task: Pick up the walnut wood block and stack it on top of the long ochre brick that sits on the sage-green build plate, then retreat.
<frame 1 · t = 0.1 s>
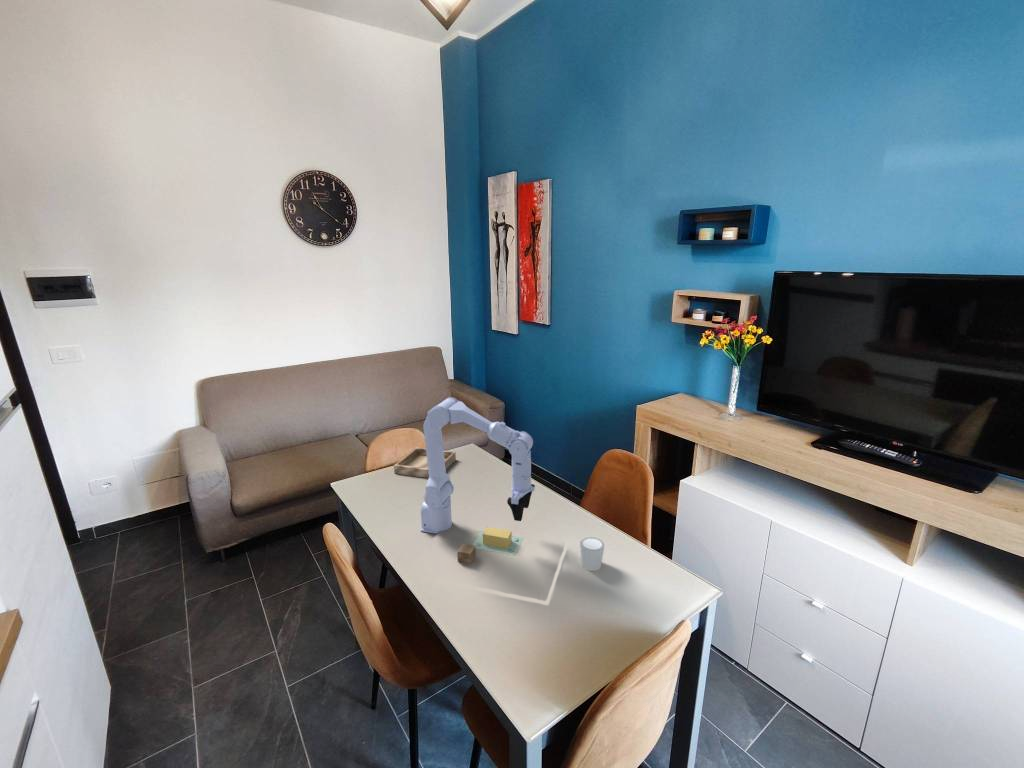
hand: (521, 513, 144), 10 cm above the table, fingers open, 7 cm apart
build plate: (497, 545, 146), on the table
walnut block: (467, 561, 138), on the table
ochre brick: (497, 542, 145), point 1 cm above the table, touching build plate
tan wooden shallow tray: (426, 466, 199), on the table
shot glass: (591, 565, 136), on the table
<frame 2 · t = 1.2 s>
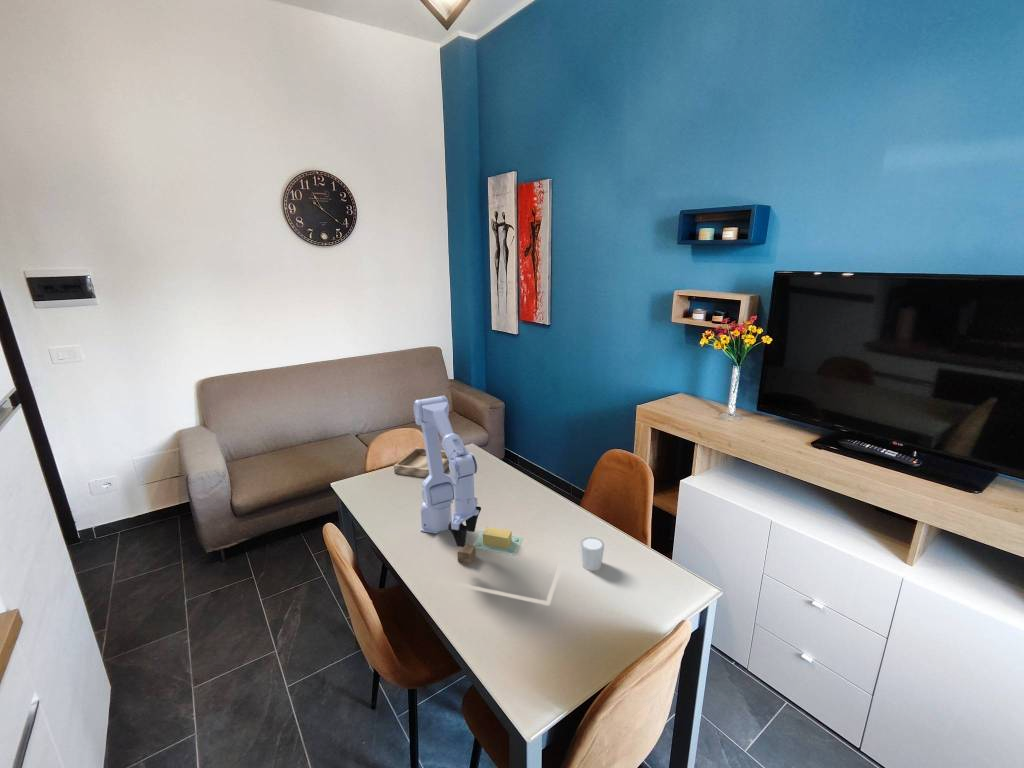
hand: (466, 538, 136), 8 cm above the table, fingers open, 7 cm apart
nothing on the table moved.
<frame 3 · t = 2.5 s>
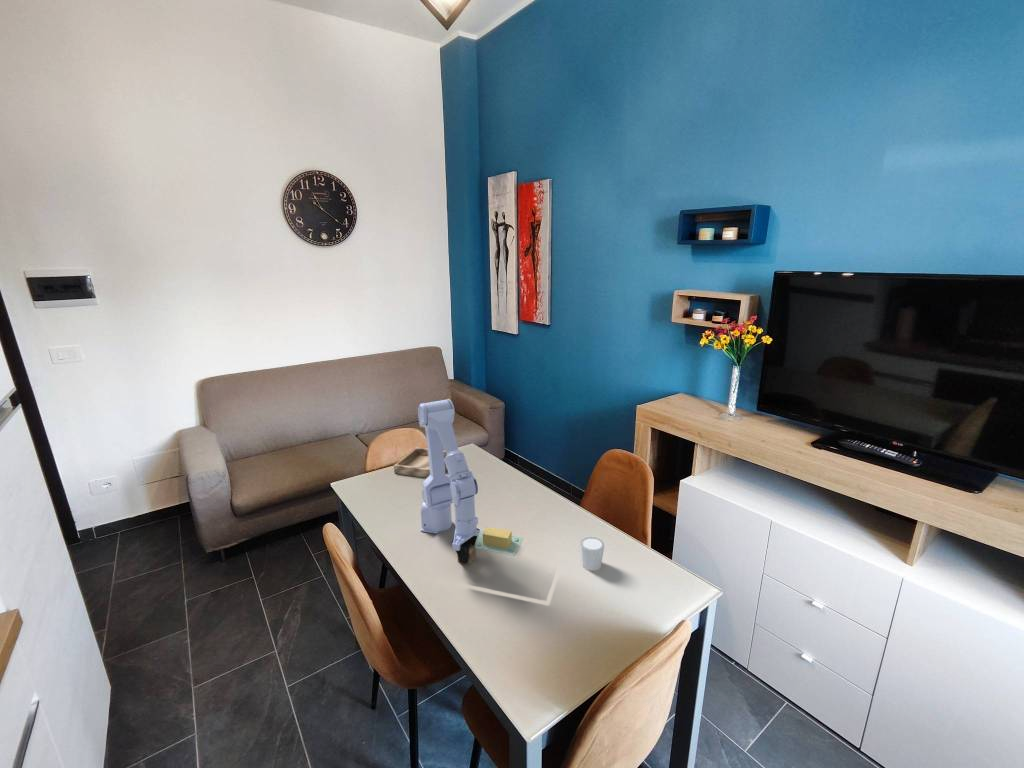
hand: (466, 557, 138), 1 cm above the table, fingers closed on walnut block, 4 cm apart
walnut block: (467, 561, 138), on the table, touching gripper
everything else where it was.
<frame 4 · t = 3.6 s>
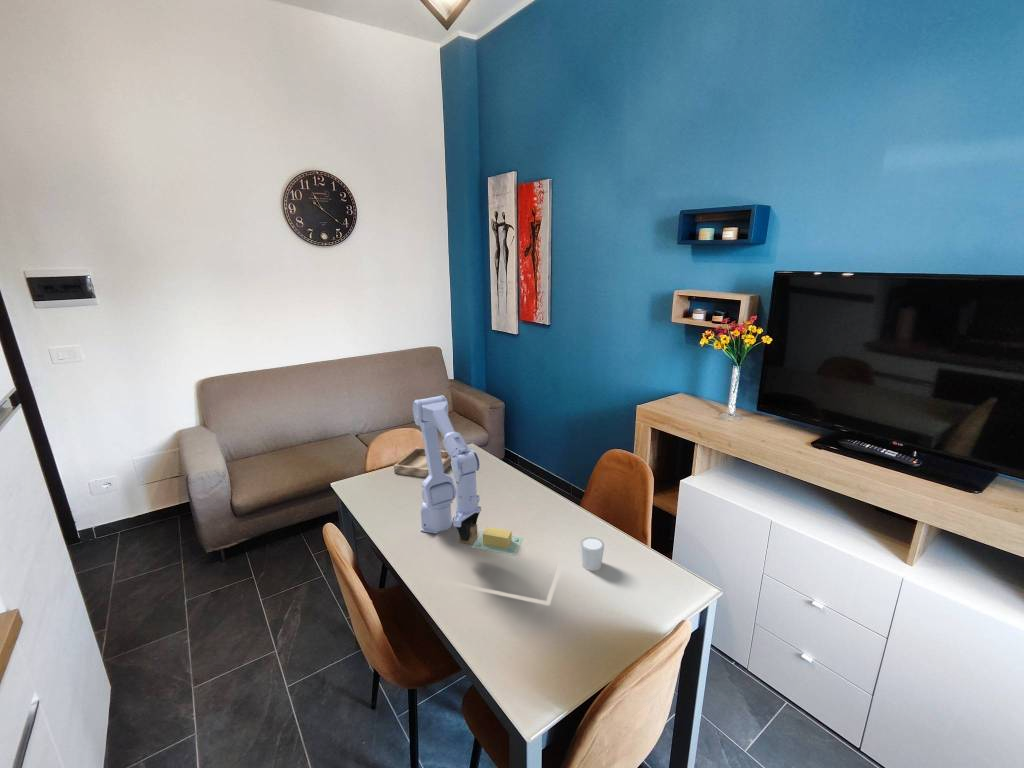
hand: (468, 535, 136), 8 cm above the table, fingers closed on walnut block, 4 cm apart
walnut block: (468, 540, 137), point 7 cm above the table, touching gripper
everything else where it was.
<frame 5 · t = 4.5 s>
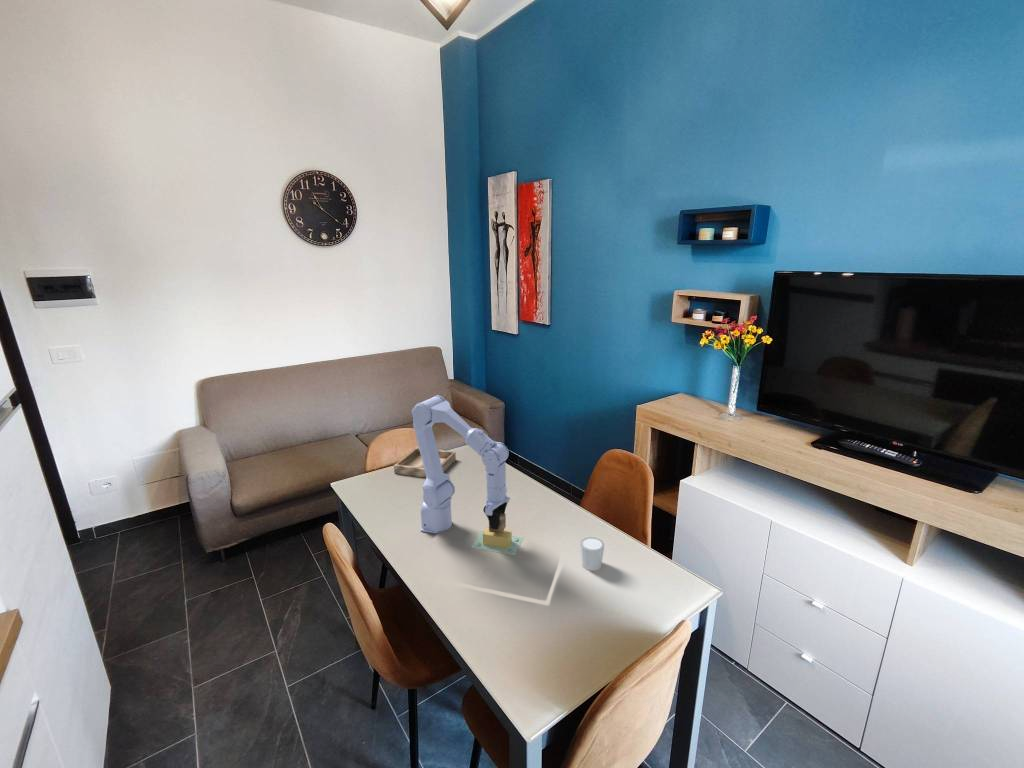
hand: (497, 524, 144), 7 cm above the table, fingers closed on walnut block, 4 cm apart
walnut block: (497, 529, 144), point 6 cm above the table, touching gripper
everything else where it was.
when the fingers open (7 cm above the table, at t = 5.0 s): walnut block stays where it is, resting on ochre brick.
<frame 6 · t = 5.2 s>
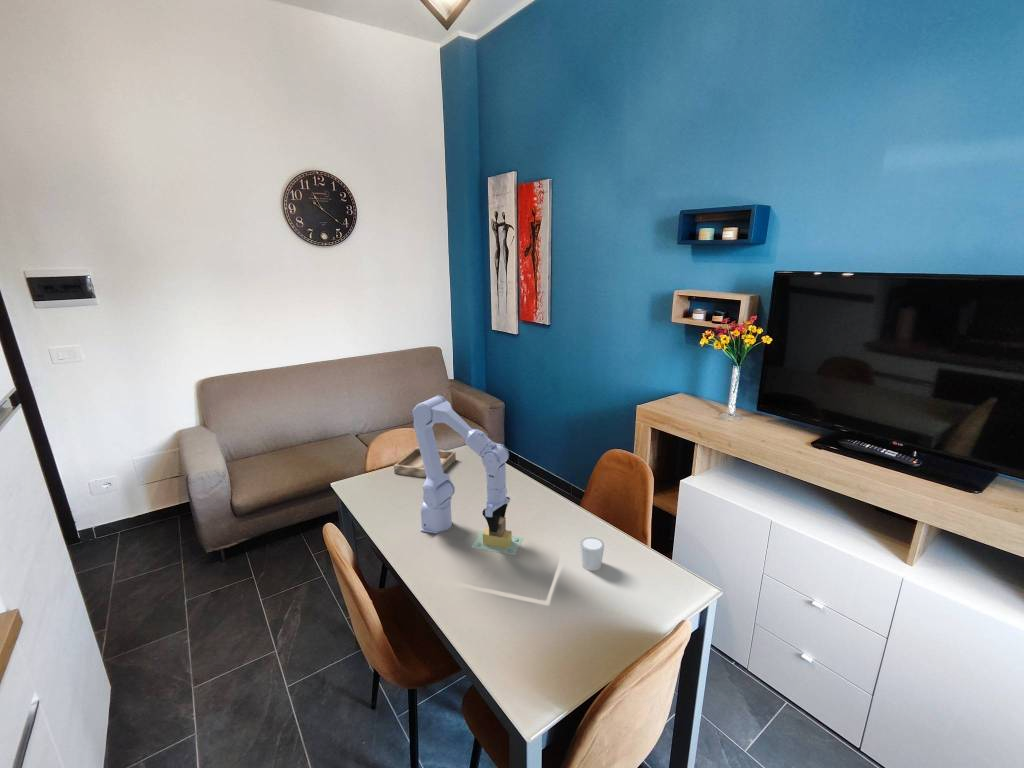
hand: (497, 525, 144), 7 cm above the table, fingers open, 6 cm apart
walnut block: (497, 532, 144), point 4 cm above the table, touching ochre brick
ochre brick: (497, 542, 145), point 1 cm above the table, touching build plate, walnut block
everything else where it was.
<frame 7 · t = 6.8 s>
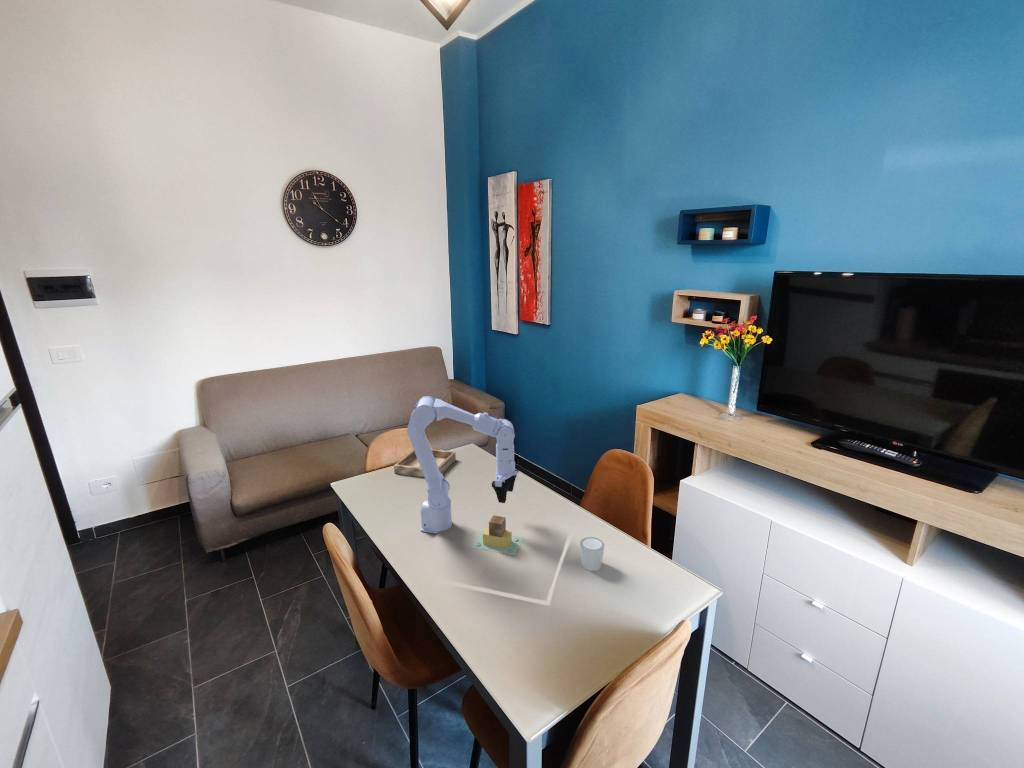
hand: (505, 496, 154), 10 cm above the table, fingers open, 7 cm apart
nothing on the table moved.
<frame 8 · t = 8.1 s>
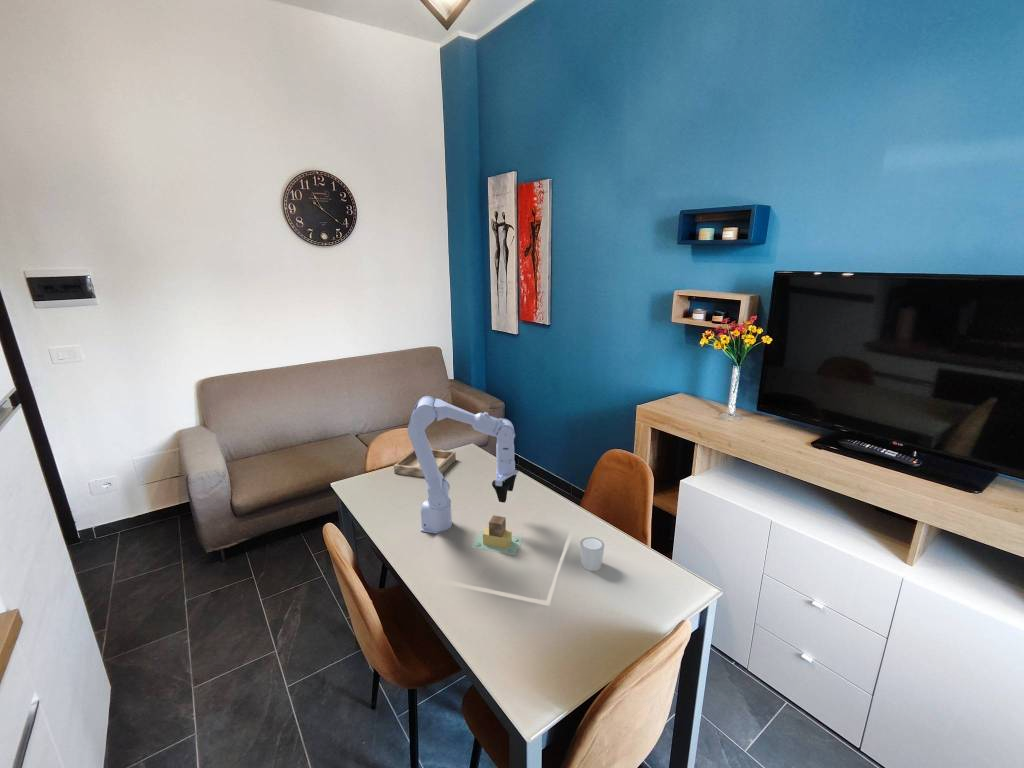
hand: (505, 495, 154), 10 cm above the table, fingers open, 7 cm apart
nothing on the table moved.
at the end: walnut block 0.1 cm off-centre on the ochre brick, point 3.5 cm above the ochre brick's base; walnut block tilted 0°; the gripper is holding nothing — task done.
